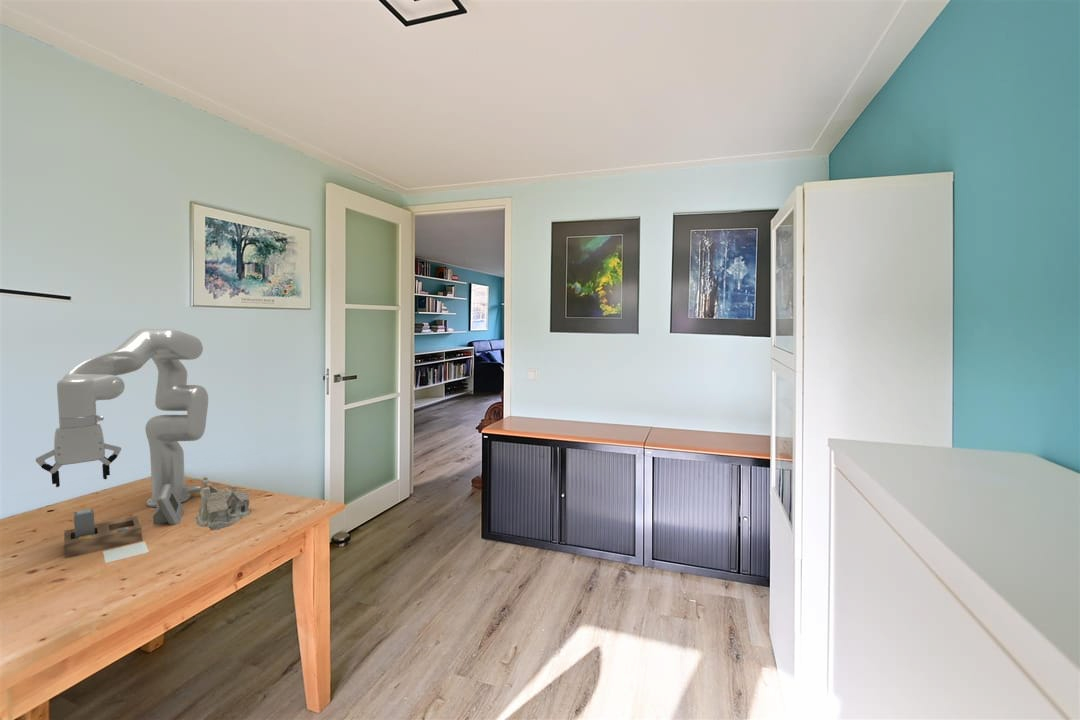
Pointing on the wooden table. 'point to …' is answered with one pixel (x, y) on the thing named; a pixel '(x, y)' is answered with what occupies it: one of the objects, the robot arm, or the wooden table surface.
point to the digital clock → (168, 507)
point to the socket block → (103, 537)
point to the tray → (125, 552)
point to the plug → (84, 522)
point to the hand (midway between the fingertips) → (82, 481)
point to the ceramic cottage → (221, 506)
